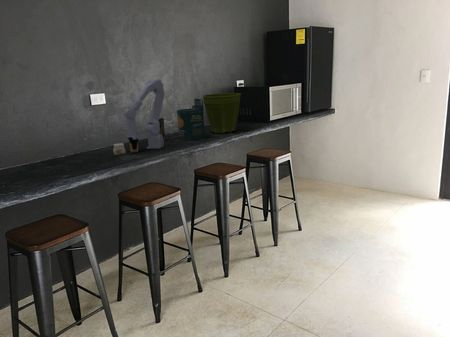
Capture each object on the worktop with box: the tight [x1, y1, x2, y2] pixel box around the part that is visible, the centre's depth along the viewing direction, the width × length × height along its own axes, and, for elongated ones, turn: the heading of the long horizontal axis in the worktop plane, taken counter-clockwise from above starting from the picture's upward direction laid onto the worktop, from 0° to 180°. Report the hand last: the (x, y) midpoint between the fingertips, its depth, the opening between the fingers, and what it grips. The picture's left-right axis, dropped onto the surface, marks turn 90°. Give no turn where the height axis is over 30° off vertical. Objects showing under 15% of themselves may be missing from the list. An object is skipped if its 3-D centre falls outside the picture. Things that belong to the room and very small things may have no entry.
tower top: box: [113, 142, 125, 150], centre depth 238 cm, size 6×6×3 cm
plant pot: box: [202, 92, 242, 134], centre depth 294 cm, size 30×30×29 cm
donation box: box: [176, 97, 206, 142], centre depth 272 cm, size 16×16×28 cm
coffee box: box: [159, 117, 166, 142], centre depth 271 cm, size 9×6×16 cm
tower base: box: [112, 148, 126, 156], centre depth 239 cm, size 6×6×3 cm
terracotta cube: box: [129, 142, 139, 153], centre depth 242 cm, size 4×4×5 cm
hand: (134, 148), depth 242 cm, fingers closed on terracotta cube, 4 cm apart
